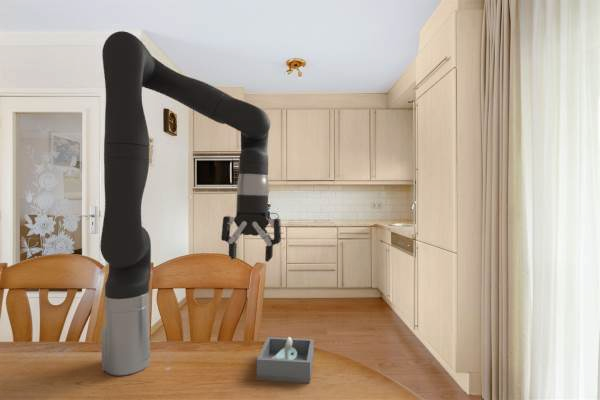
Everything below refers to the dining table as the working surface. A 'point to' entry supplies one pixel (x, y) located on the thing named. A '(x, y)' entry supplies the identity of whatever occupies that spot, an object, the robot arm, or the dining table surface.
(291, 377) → the bin
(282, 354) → the pacifier
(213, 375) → the dining table surface
